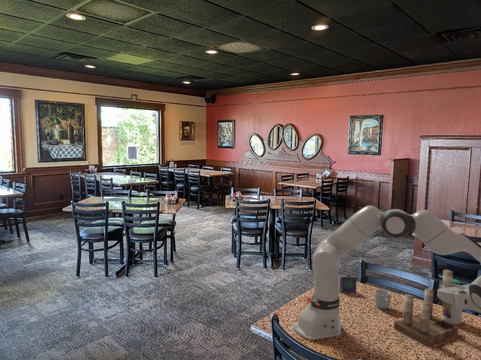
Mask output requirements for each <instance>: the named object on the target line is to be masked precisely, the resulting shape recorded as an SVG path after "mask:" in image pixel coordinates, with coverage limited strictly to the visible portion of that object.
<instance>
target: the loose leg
mask: <svg viewBox="0 0 481 360" xmlns="http://www.w3.org/2000/svg"><path fill="white" fill-rule="evenodd" d="M453 273H454V272H453V271H452V270H449V269H443V270H442V284H441V285H444V286H446V288H448V287H452V279H453ZM441 307H442V308H443V307H444V308H451V304H448V303H446V302H444V301H442V300H441Z"/></svg>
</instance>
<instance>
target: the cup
mask: <svg viewBox="0 0 481 360" xmlns="http://www.w3.org/2000/svg"><path fill="white" fill-rule="evenodd" d="M391 299H392V293H391V292H390V291H389V290H387V289H381V288H380V289H379V288H376V289H375V290H374V303H375V307H377V308H378V309H379V310H387V309H389V308H390V305H391Z"/></svg>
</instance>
